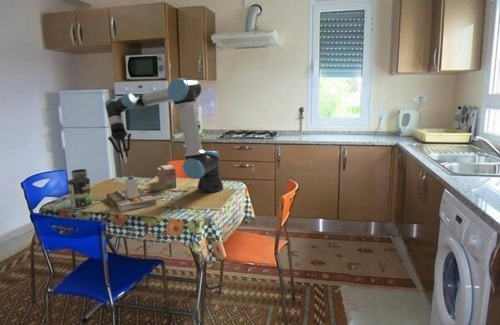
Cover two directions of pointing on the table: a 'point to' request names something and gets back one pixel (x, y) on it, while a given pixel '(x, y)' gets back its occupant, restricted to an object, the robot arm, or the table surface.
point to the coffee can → (80, 193)
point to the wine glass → (79, 173)
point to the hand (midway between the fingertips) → (126, 162)
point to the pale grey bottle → (131, 187)
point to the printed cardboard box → (167, 176)
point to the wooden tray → (130, 200)
